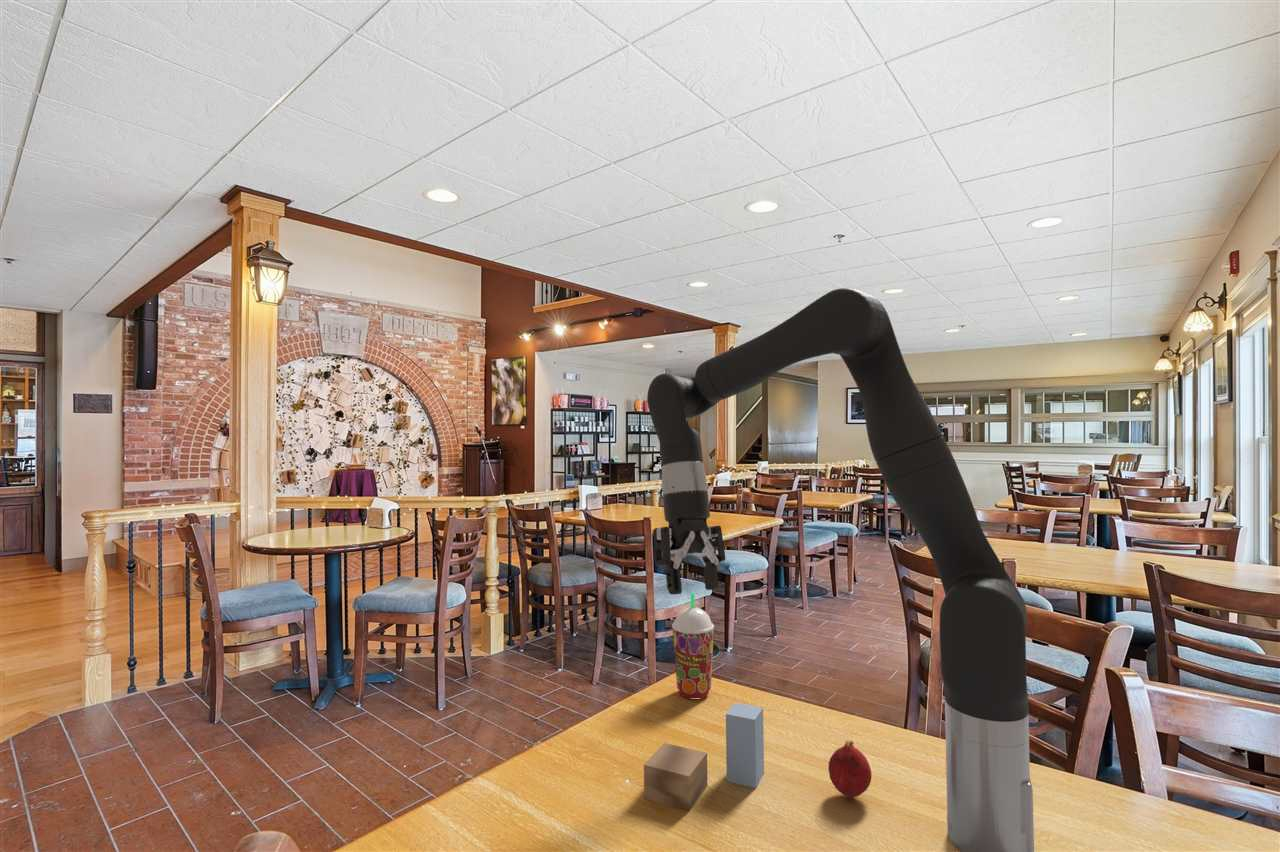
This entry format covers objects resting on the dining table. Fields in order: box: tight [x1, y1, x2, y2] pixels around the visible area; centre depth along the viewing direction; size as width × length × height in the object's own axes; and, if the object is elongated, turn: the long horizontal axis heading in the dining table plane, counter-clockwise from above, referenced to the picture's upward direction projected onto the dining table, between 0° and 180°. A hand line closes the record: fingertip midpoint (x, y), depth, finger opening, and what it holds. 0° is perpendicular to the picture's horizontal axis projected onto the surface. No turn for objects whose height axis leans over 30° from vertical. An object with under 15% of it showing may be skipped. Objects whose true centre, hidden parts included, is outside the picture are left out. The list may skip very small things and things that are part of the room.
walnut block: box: [643, 742, 708, 813], centre depth 90 cm, size 7×7×5 cm
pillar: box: [725, 702, 765, 789], centre depth 94 cm, size 4×4×10 cm
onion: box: [828, 739, 872, 799], centre depth 88 cm, size 6×6×8 cm
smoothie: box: [671, 593, 715, 699], centre depth 124 cm, size 8×8×20 cm
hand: (694, 591), depth 100 cm, fingers open, 8 cm apart
